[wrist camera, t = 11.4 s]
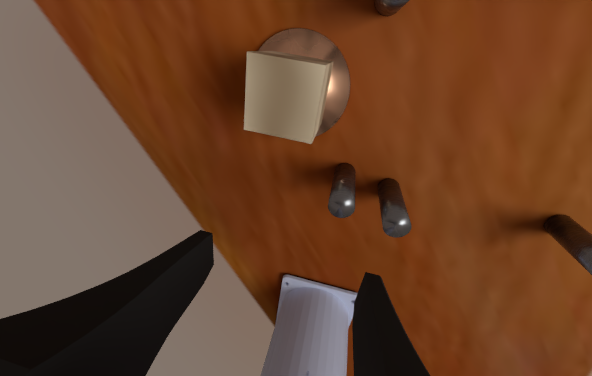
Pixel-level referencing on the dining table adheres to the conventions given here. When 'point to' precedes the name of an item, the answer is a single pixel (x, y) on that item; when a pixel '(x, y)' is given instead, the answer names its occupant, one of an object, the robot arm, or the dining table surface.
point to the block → (285, 94)
